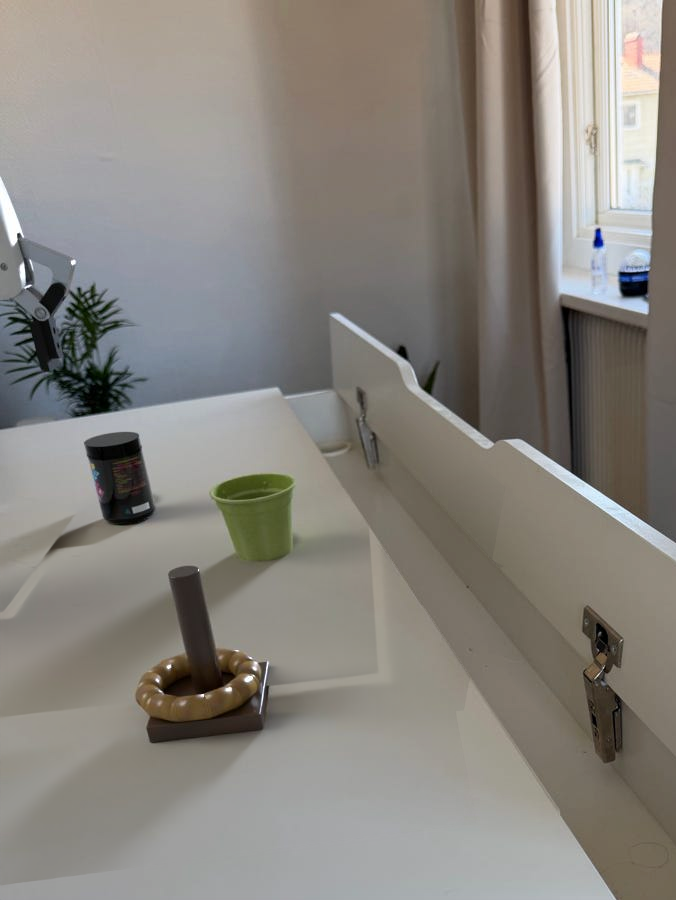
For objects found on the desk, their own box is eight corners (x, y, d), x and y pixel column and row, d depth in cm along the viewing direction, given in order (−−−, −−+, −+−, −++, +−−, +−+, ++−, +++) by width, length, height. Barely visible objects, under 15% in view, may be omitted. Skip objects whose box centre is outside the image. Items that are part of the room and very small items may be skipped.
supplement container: (133, 505, 132) (115, 429, 127) (168, 512, 129) (150, 434, 124) (92, 522, 127) (72, 443, 122) (127, 529, 124) (107, 448, 119)
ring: (128, 732, 77) (122, 711, 76) (151, 672, 85) (146, 651, 84) (257, 717, 77) (253, 695, 76) (266, 659, 86) (262, 638, 85)
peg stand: (149, 743, 78) (112, 601, 72) (167, 687, 86) (135, 556, 80) (263, 729, 79) (235, 588, 73) (271, 675, 86) (246, 544, 81)
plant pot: (240, 582, 106) (225, 506, 102) (213, 557, 113) (198, 485, 109) (320, 560, 110) (308, 486, 106) (288, 537, 117) (276, 467, 113)
